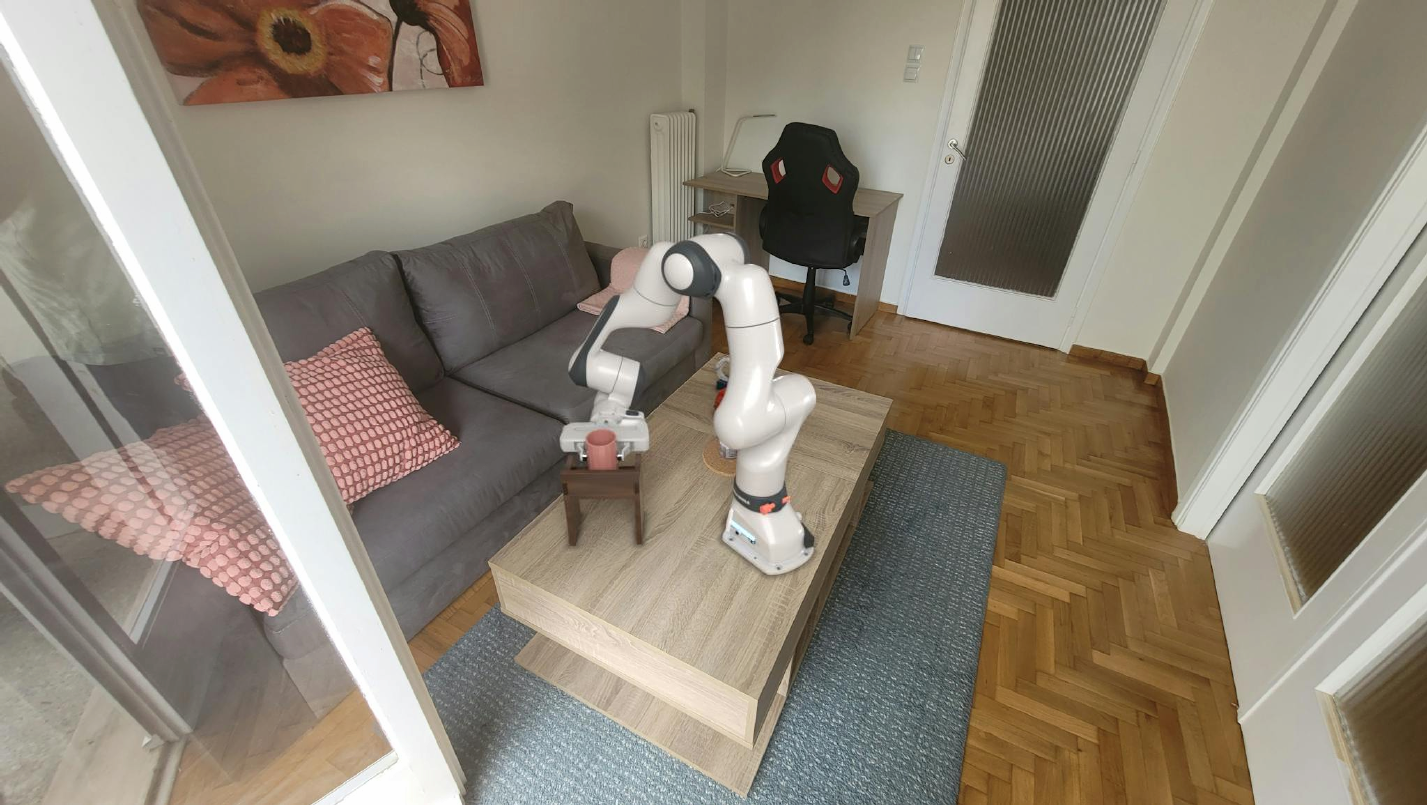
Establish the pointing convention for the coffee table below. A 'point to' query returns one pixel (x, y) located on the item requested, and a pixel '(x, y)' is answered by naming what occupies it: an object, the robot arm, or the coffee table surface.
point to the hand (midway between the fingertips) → (602, 458)
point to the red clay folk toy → (719, 398)
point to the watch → (723, 378)
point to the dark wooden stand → (601, 491)
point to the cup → (601, 450)
